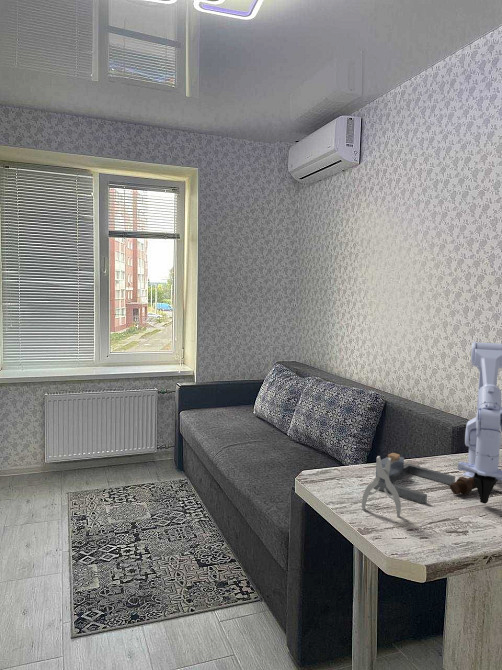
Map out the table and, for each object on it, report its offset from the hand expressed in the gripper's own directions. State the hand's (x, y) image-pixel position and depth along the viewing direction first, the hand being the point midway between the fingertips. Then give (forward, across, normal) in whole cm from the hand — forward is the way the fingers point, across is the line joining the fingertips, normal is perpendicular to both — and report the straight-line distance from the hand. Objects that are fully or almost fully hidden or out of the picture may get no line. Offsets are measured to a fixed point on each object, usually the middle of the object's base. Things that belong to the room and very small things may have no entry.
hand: (484, 502), depth 139 cm
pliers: (+2, -18, -24) cm, 30 cm away
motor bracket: (+1, -18, 0) cm, 19 cm away
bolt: (-1, -9, +1) cm, 9 cm away
